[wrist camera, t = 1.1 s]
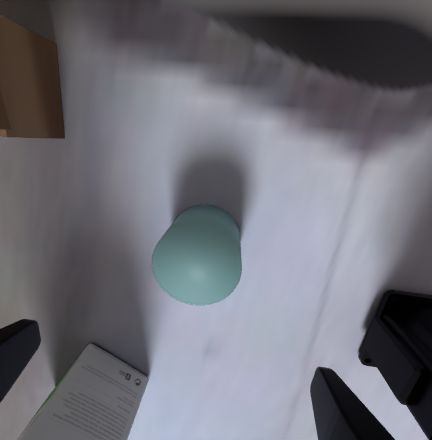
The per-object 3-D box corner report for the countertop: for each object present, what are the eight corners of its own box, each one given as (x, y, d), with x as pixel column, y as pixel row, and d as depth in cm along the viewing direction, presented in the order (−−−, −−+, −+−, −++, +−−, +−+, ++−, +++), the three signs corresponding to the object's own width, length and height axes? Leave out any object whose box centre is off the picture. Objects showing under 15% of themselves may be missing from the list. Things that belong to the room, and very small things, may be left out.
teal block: (245, 209, 15) (248, 232, 11) (234, 273, 17) (234, 311, 13) (173, 199, 15) (153, 218, 12) (169, 263, 17) (150, 298, 13)
